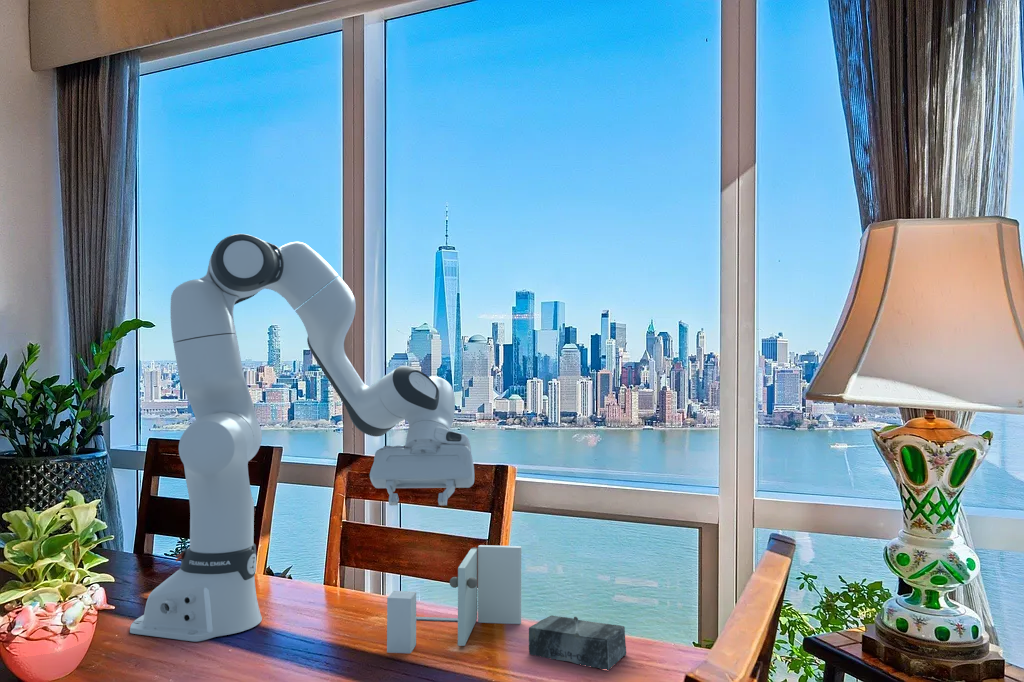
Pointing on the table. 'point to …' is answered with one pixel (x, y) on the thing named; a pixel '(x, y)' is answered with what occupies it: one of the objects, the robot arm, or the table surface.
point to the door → (466, 595)
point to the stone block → (578, 641)
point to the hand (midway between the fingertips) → (417, 503)
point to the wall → (496, 585)
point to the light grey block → (401, 622)
